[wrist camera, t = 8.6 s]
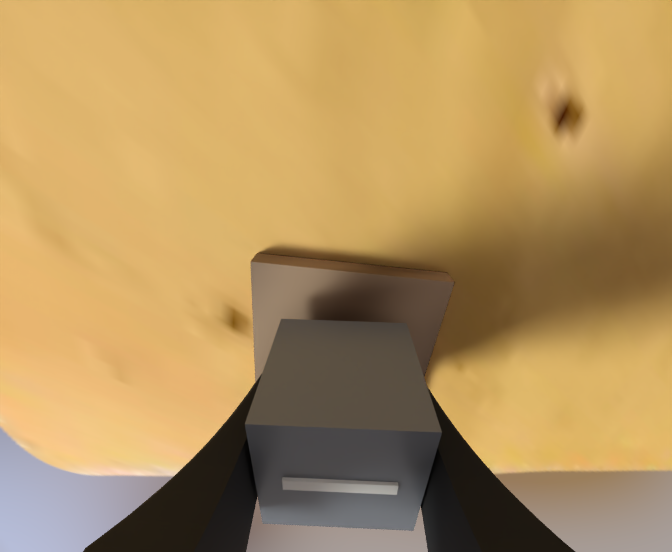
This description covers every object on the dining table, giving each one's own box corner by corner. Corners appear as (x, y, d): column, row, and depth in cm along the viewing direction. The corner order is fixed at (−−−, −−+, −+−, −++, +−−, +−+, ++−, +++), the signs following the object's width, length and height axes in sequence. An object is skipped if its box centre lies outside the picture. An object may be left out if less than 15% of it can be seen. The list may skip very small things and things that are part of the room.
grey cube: (406, 323, 12) (443, 436, 8) (392, 409, 15) (414, 534, 10) (281, 318, 12) (243, 427, 8) (287, 405, 15) (261, 526, 10)
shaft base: (447, 272, 13) (486, 326, 10) (407, 403, 18) (424, 477, 14) (257, 253, 13) (222, 300, 10) (261, 389, 17) (237, 460, 14)
